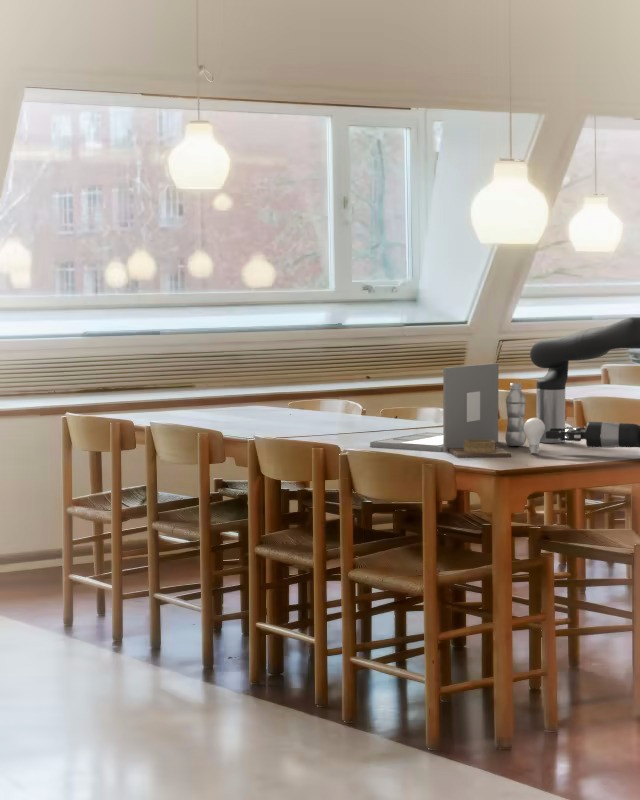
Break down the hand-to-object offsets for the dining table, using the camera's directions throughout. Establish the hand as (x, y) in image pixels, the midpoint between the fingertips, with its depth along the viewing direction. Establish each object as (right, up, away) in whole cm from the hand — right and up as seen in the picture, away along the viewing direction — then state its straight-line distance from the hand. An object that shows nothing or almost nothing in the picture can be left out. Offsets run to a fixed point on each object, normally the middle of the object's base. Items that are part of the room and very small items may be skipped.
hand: (547, 433), depth 387 cm
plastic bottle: (-6, -5, +24) cm, 25 cm away
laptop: (-31, -5, +32) cm, 44 cm away
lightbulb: (-4, -7, +2) cm, 8 cm away
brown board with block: (-20, -6, +4) cm, 21 cm away
